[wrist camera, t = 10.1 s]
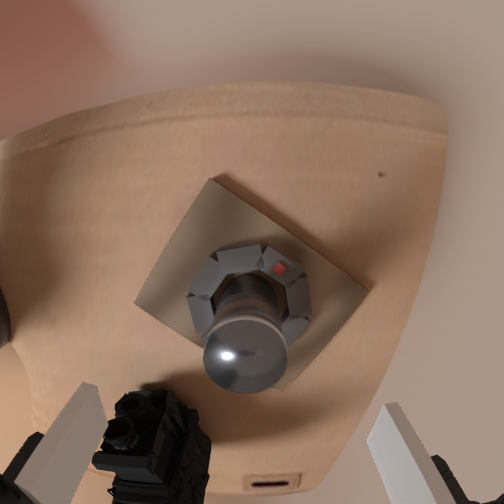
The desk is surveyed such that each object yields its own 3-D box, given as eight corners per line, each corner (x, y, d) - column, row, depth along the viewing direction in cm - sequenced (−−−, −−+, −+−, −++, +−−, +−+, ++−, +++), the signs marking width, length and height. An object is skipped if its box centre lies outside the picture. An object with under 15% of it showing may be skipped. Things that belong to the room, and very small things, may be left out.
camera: (181, 369, 29) (126, 529, 9) (221, 443, 32) (207, 572, 12) (111, 378, 30) (36, 499, 10) (157, 447, 33) (123, 557, 13)
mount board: (137, 298, 27) (126, 310, 24) (211, 178, 25) (205, 177, 22) (281, 384, 29) (283, 402, 26) (364, 287, 27) (376, 298, 24)
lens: (219, 271, 25) (199, 322, 16) (278, 273, 25) (293, 325, 16) (220, 326, 26) (204, 395, 17) (275, 328, 26) (284, 398, 17)
